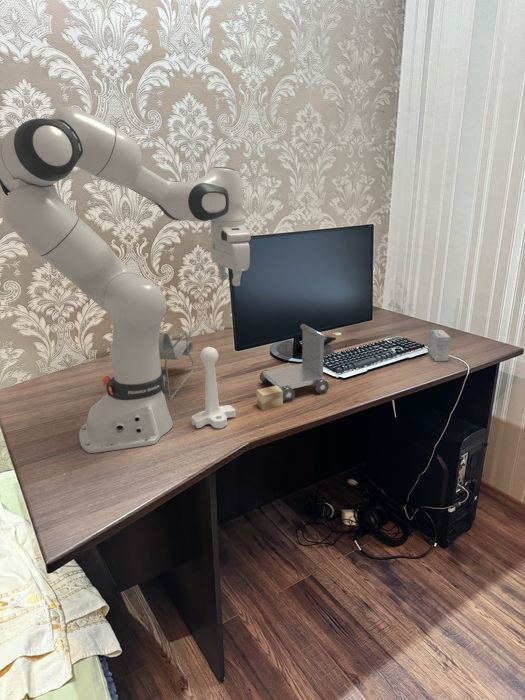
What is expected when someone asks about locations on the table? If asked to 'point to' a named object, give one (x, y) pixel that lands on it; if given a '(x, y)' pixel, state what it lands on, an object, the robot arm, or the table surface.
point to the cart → (301, 367)
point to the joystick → (212, 395)
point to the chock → (269, 397)
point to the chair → (174, 353)
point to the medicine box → (439, 345)
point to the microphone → (329, 339)
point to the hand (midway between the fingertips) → (229, 282)
